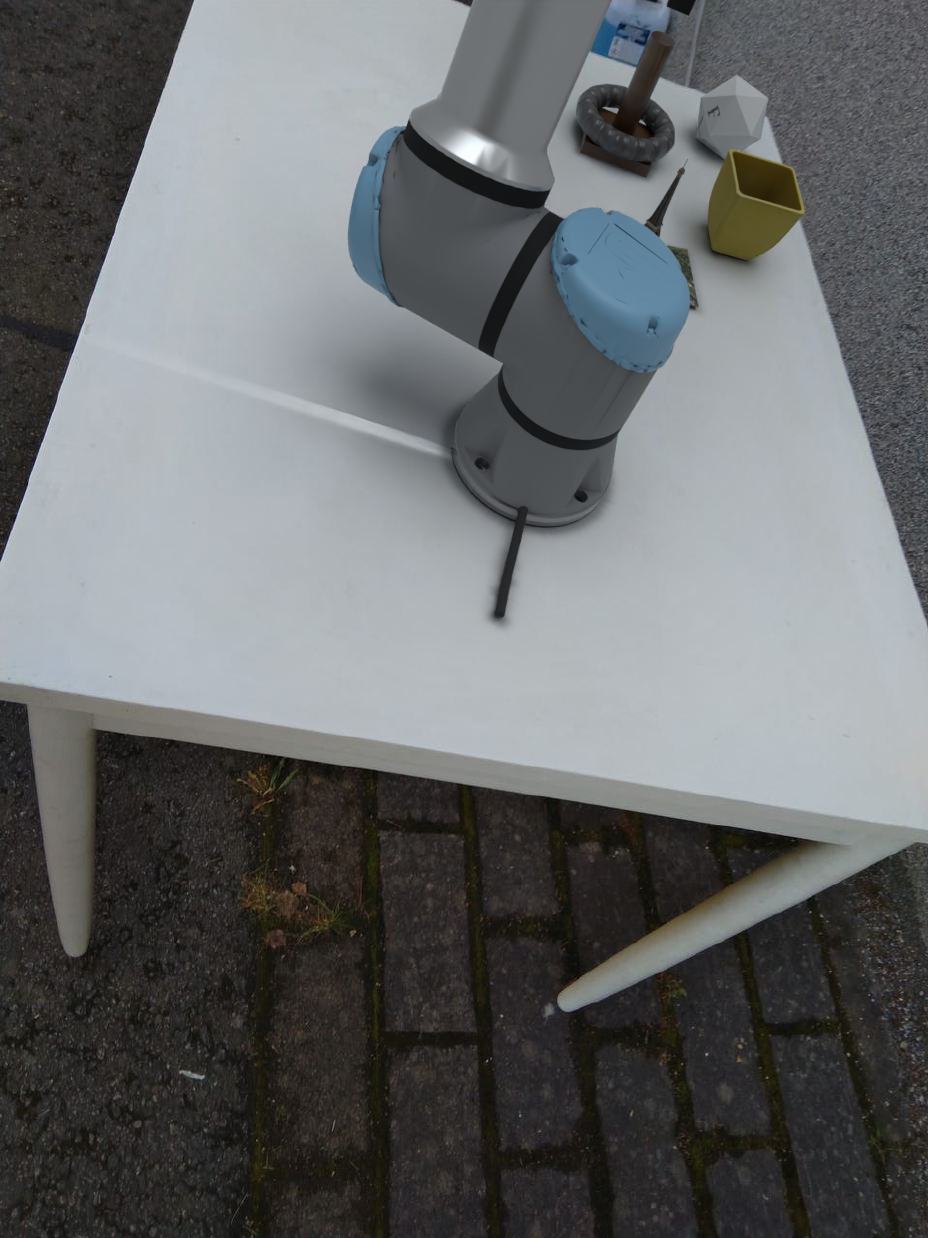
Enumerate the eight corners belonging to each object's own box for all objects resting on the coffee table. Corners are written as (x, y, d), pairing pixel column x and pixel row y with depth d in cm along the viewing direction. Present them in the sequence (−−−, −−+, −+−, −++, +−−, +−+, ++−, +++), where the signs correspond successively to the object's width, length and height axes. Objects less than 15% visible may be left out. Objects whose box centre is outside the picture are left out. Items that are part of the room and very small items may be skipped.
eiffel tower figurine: (574, 282, 100) (624, 174, 89) (568, 223, 105) (614, 113, 94) (696, 309, 103) (759, 209, 92) (684, 251, 108) (743, 149, 97)
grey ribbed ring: (667, 178, 112) (677, 160, 110) (569, 142, 110) (577, 122, 108) (670, 121, 119) (679, 102, 117) (577, 86, 117) (585, 66, 115)
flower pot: (763, 276, 110) (806, 213, 103) (699, 258, 108) (738, 193, 101) (753, 230, 115) (794, 166, 107) (691, 212, 113) (728, 146, 105)
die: (687, 120, 125) (693, 74, 115) (753, 101, 124) (764, 52, 114) (700, 177, 125) (707, 136, 115) (766, 159, 123) (779, 115, 113)
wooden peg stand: (645, 177, 114) (697, 71, 103) (579, 151, 113) (624, 42, 102) (650, 138, 119) (699, 33, 108) (586, 114, 118) (630, 5, 106)
